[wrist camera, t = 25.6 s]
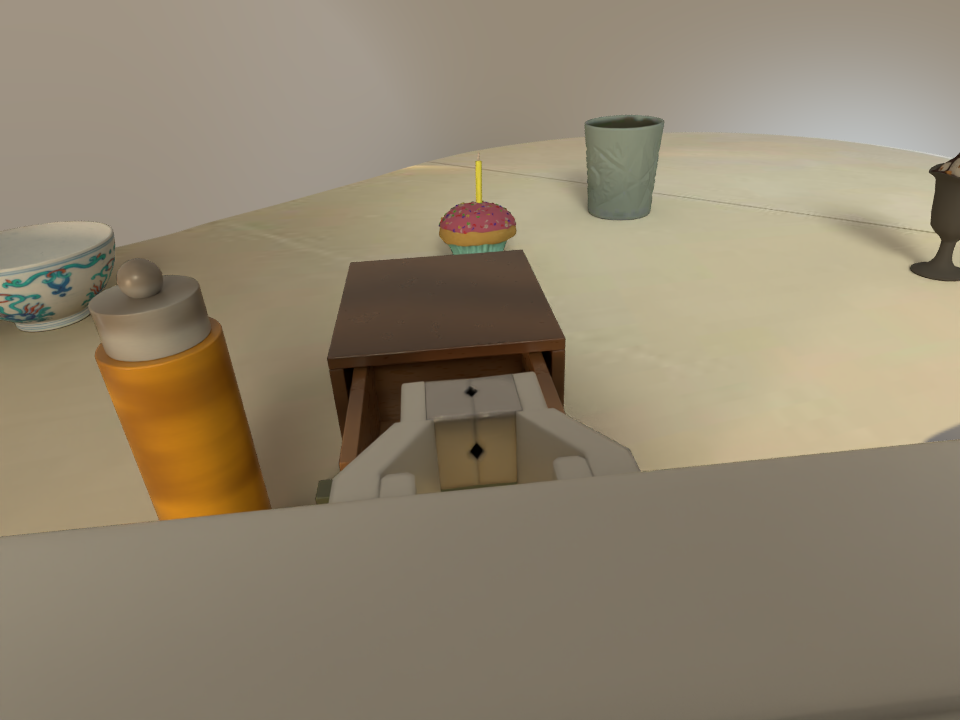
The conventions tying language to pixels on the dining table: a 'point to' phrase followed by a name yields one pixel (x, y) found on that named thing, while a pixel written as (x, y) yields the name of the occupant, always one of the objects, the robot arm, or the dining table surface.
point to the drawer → (381, 385)
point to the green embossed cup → (622, 164)
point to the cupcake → (477, 224)
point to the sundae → (944, 222)
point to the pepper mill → (176, 394)
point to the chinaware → (53, 272)
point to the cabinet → (441, 315)
